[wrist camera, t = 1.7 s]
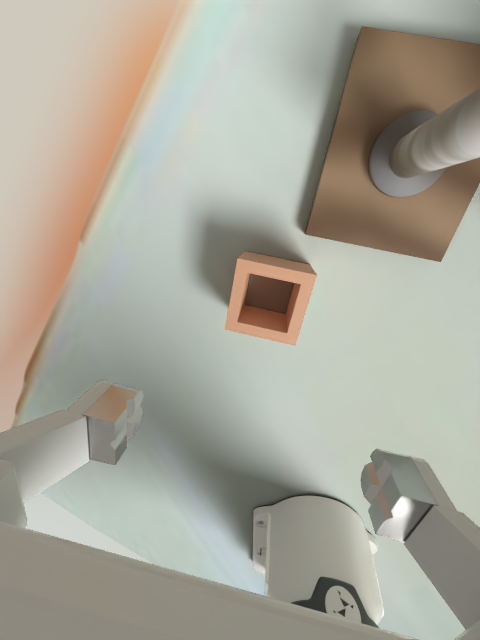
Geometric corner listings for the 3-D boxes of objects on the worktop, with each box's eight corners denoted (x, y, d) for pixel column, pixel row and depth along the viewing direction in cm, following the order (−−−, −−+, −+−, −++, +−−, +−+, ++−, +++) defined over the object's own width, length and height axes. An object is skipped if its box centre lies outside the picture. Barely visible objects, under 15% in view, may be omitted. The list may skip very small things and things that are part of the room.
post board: (433, 259, 24) (533, 288, 14) (304, 233, 24) (320, 244, 15) (526, 63, 18) (785, -96, 9) (357, 37, 19) (433, -137, 10)
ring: (292, 324, 28) (295, 345, 23) (233, 311, 28) (224, 329, 24) (309, 264, 25) (316, 275, 21) (244, 250, 26) (237, 258, 21)
